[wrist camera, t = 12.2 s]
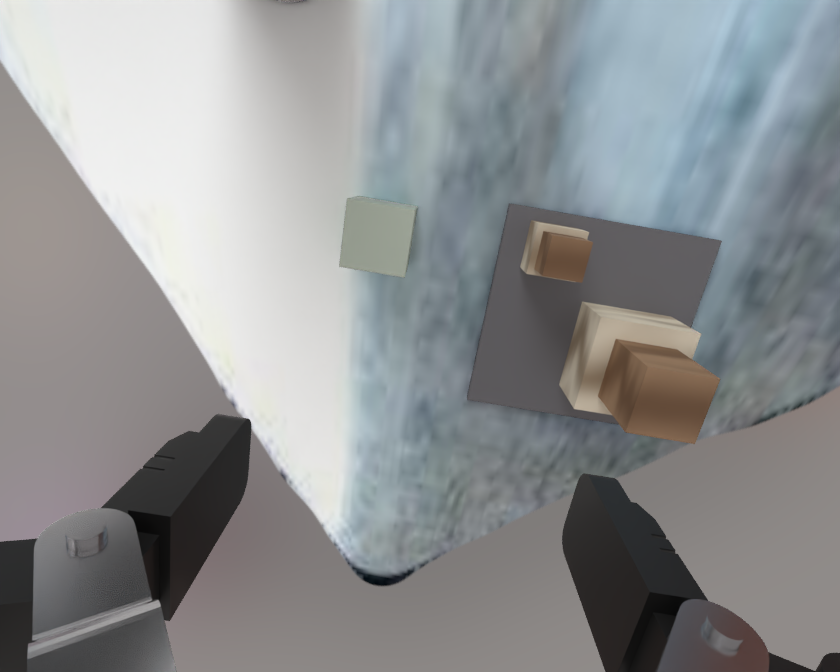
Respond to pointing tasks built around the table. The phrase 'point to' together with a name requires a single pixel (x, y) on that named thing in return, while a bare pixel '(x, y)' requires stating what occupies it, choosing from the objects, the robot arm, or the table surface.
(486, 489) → the table surface
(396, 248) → the sage block
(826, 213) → the table surface
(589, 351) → the birch base block
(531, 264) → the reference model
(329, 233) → the table surface
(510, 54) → the table surface
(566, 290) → the charcoal mat
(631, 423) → the walnut block
